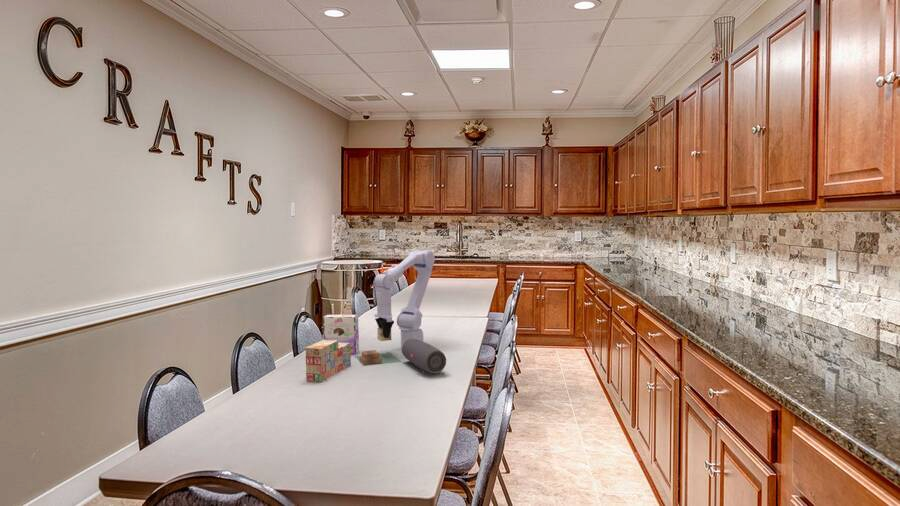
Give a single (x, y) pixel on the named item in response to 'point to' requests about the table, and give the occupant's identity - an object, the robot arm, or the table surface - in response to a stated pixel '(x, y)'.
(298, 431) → the table surface
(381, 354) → the cutting mat
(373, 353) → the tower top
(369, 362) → the tower base
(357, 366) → the table surface
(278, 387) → the table surface
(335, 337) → the candy box
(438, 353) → the bluetooth speaker
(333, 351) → the stack of blocks
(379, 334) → the oak block
